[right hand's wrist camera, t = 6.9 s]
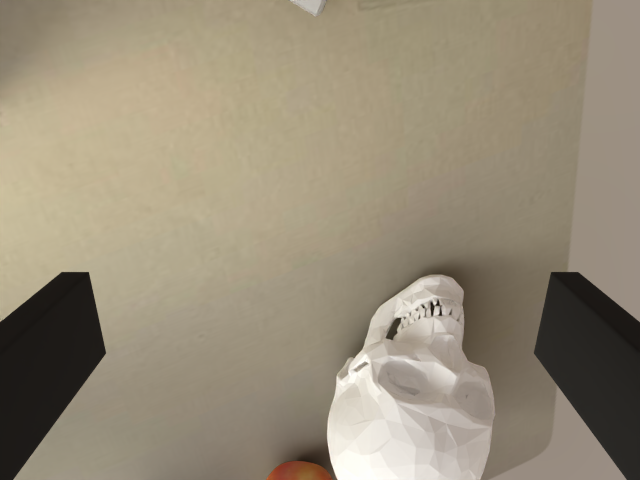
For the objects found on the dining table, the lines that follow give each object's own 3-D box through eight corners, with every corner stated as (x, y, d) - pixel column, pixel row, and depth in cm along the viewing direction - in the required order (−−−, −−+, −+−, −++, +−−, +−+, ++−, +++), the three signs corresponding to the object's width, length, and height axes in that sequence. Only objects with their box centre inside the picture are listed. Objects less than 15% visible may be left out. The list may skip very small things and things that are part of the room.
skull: (498, 280, 45) (579, 385, 30) (425, 441, 53) (460, 587, 38) (371, 247, 44) (389, 339, 29) (316, 416, 52) (308, 555, 37)
